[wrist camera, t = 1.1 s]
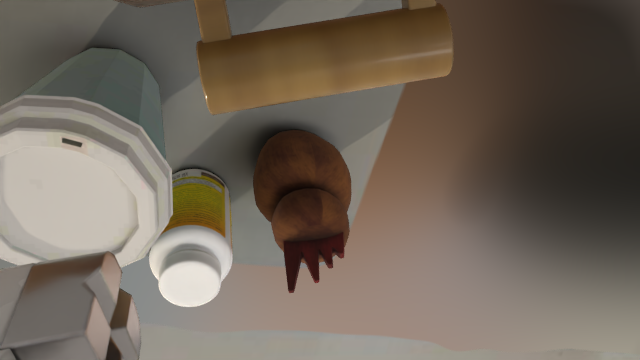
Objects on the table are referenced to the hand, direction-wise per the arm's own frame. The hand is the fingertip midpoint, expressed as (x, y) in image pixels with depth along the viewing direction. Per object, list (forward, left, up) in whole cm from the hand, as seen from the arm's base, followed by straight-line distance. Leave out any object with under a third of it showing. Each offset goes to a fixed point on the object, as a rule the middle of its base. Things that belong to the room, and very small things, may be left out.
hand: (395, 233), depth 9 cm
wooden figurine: (+17, +6, -33) cm, 38 cm away
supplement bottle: (+22, -1, -33) cm, 40 cm away
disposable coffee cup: (+14, -8, -33) cm, 37 cm away
